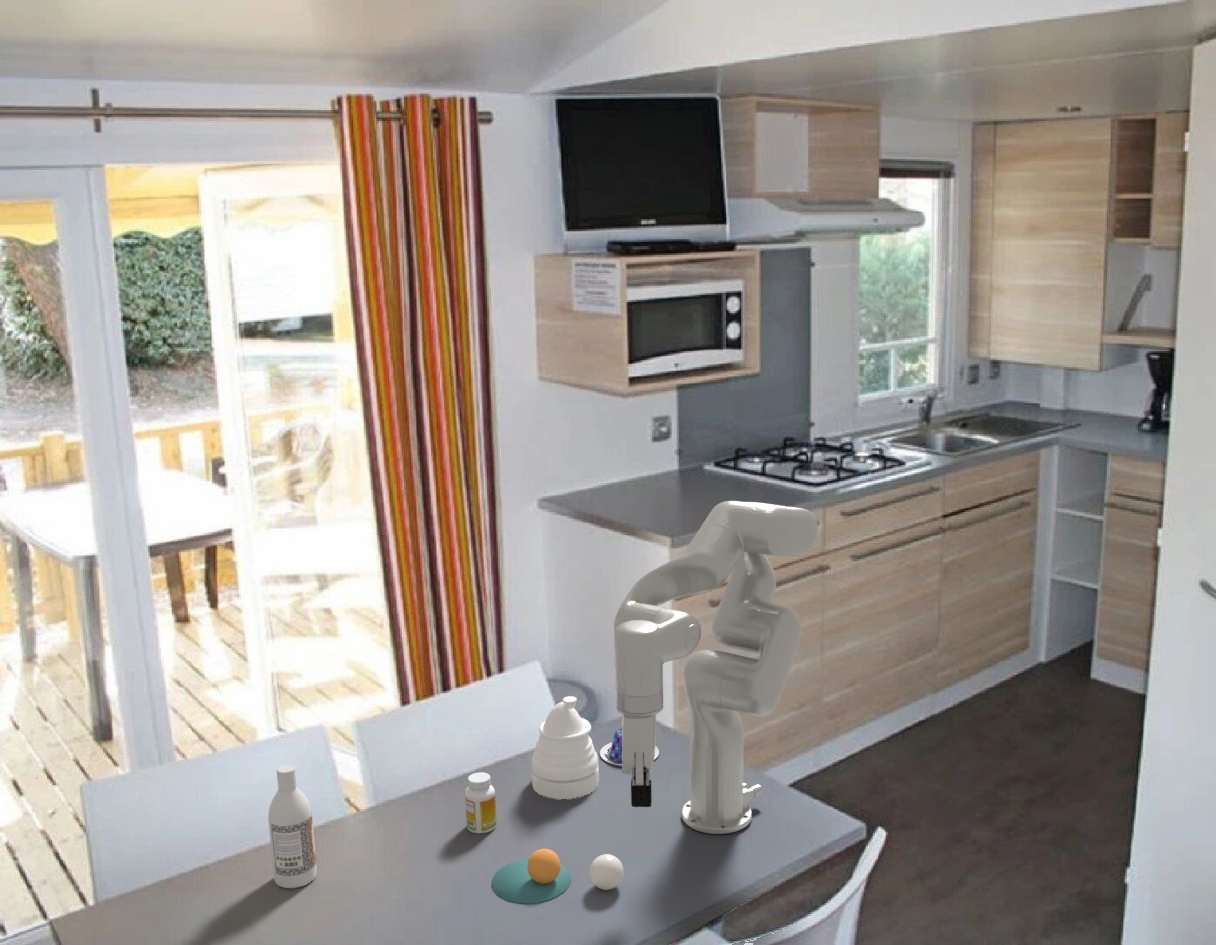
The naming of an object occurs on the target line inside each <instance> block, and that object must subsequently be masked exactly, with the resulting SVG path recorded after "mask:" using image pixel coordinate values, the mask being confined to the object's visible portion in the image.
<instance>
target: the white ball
mask: <svg viewBox="0 0 1216 945" xmlns="http://www.w3.org/2000/svg"><path fill="white" fill-rule="evenodd" d="M589 876H590V879H591V881H592V883H593V884H594V885H595V886H596V887H597V888H599V889H601V890H603V891H609V890H613V889H615V888H617V887H618V886H619V885H620V884H621V882H622V880H623V878H624V866H623V863H622V862H621V860H620V859H619V858H618V857H616V856H615V855H613V854H609V853H608V854H607V853H605V854H601V855H599V856H597V857H595V859H594V860H593V861H592V862H591V864H590V867H589Z"/></svg>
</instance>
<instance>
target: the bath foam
mask: <svg viewBox="0 0 1216 945" xmlns="http://www.w3.org/2000/svg"><path fill="white" fill-rule="evenodd" d="M276 778H277V779H276V780H277V788H278V790H277V792H276V793H275V795H274V796H273V798H272V800H271V802H270V805H269V809H268V828H269V829H268V830H269V837H270V848H271V860H272V868H273V869H272V870H273V880H274V882H275V884H276V885H277V886H279V887H281V888H284V889H297V887H298V888H302V887H305V886H306V885H309V884H310V883H312V882H313V881H314V880H315V878H316V877H317V872H318V868H317V858H316V846H315V844H316V843H315V833H314V824H313V812H312V807H311V804H310V801H309V799H308V798H307V797H306V795H305V793H303V792H302V791H301V790H300V788H299V787H297V776H296V767H295V766H294V765H291V764H284V765H281V766H279V767H277V769H276ZM311 881H312V882H311ZM308 883H309V884H308ZM301 886H302V887H301Z"/></svg>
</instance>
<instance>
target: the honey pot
mask: <svg viewBox="0 0 1216 945" xmlns="http://www.w3.org/2000/svg"><path fill="white" fill-rule="evenodd" d="M577 701H578V700H577V697H575V696H573V695H571V696H565V697H564V698H563V699H562V701H561V702H558V703H557V704H555V705H554V706H553V708H552V709H551V710H550V712H549V713H548V715H547V717H546V719H545V721H542V723H541V724H539V727H538V732H539V736H538V739H537V741H536V744H535V749H534V753H533V754H532V756H531V784H532V785H531V786H532V789H533V790H534V791H535V793H536V792H537V794H538V795H540V796H541V795H544V796H547V797H551V798H556V799H555V800H561V799H567V800H573V799H572V798H575V799H577V798H576V797H579V798H582V797H581V796H583V797H585V796H584V795H586V796H588V795H590V794H591V792H592V793H593V792H594V791H595V790H596V789H597V788H598V787H599V784H598V783H600V775H599V774H600V772H599V756H598V754H597V751H596V750H595V746H594V744H593V740H592V738H591V737H590V736H589V734H590V733H591V731H592V725H591V723H590V722H589V720H587V719H586V718H584V717H581V716H580V715H579V712H578V711H577V710H576V708H575V707H576V704H577ZM596 787H597V788H596ZM587 794H588V795H587ZM544 796H543V797H544ZM547 797H546V798H547ZM551 798H550V799H551Z"/></svg>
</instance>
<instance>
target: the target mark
mask: <svg viewBox="0 0 1216 945" xmlns="http://www.w3.org/2000/svg"><path fill="white" fill-rule="evenodd" d="M528 860H529V858H525V859H519V860H516V861H515V860H514V861H512V862H511V863H507V864H505V865H504V866H502V867H501V868H500V869H498V870H497V871H496V872H495V874H494V875H493V878H492V880H491V881H492V882H491V886H492V890H493V891H494V892H495V894H496V895H497V896H499V897H500V898H502V899H504V900H506V901H509V902H512V903H516V904H529V905H530V904H539V903H544V902H547V901H550V900H553V899H555V898H557V897H559V896H561V895H562V894H563V893H565V892H566V891H567V889H568V888H569V887H570V885H571V882H572V878H571V873H570V871H569V870H568V868H566V866H564V865H563V864H561V869H560V873H559V875H558V876H557V878H556V879H555V880H554V881H552V882H550V883H547V884H541V883H537V882H535V881H534V880H533V879H532V878H531V877H530V875H529V873H528V869H527V864H528Z"/></svg>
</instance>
